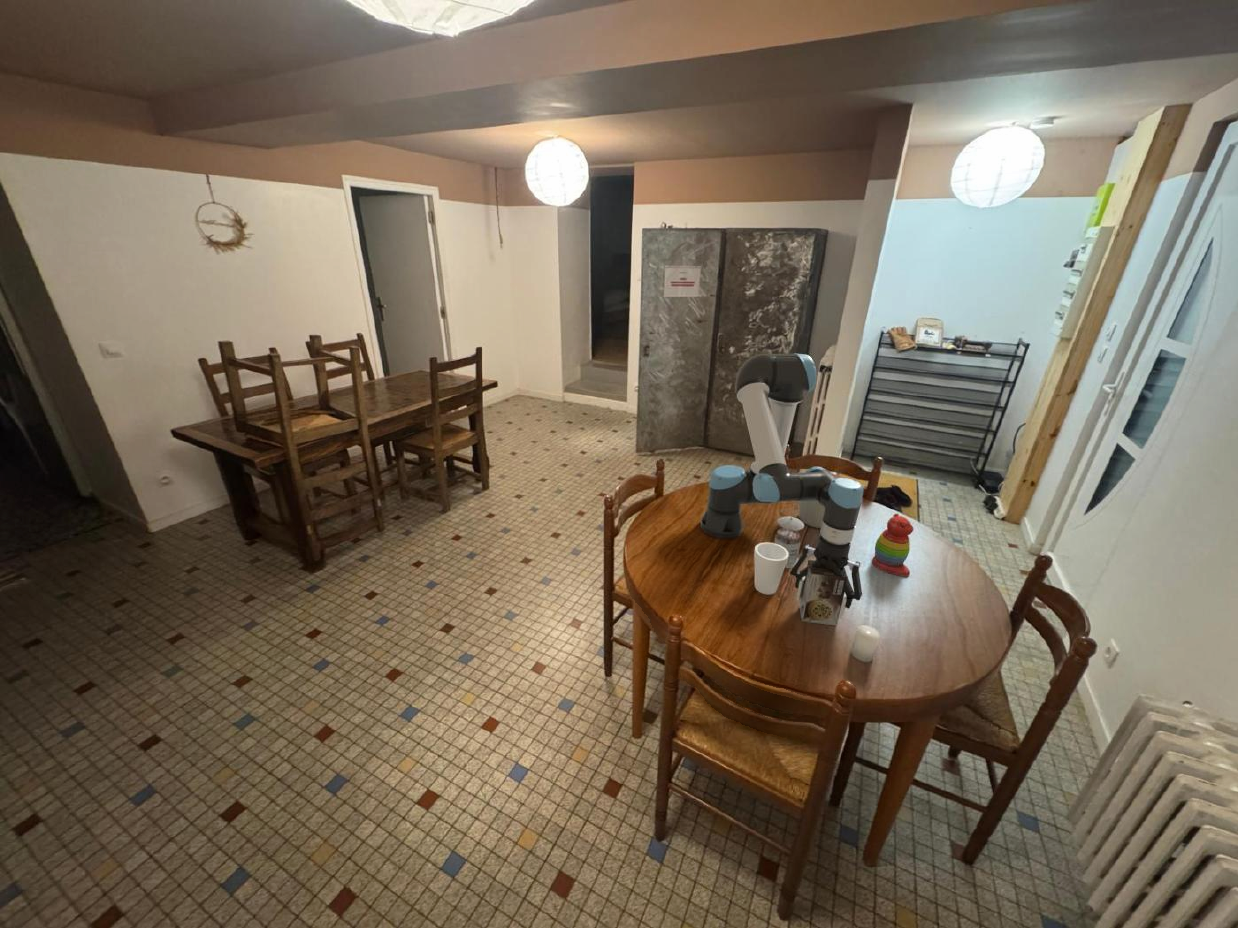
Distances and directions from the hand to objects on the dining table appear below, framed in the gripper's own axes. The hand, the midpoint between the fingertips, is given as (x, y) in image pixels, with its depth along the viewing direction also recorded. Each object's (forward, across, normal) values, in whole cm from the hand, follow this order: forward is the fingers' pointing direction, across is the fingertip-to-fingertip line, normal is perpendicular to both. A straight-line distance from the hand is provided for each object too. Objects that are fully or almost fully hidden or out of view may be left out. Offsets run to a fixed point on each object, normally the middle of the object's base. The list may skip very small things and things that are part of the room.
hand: (819, 606), depth 128 cm
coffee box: (+4, 0, 0) cm, 4 cm away
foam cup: (+4, -16, +3) cm, 17 cm away
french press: (+4, -17, +22) cm, 28 cm away
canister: (+4, -16, +53) cm, 55 cm away
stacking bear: (+4, +11, +39) cm, 41 cm away
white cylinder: (+3, +13, -7) cm, 15 cm away
